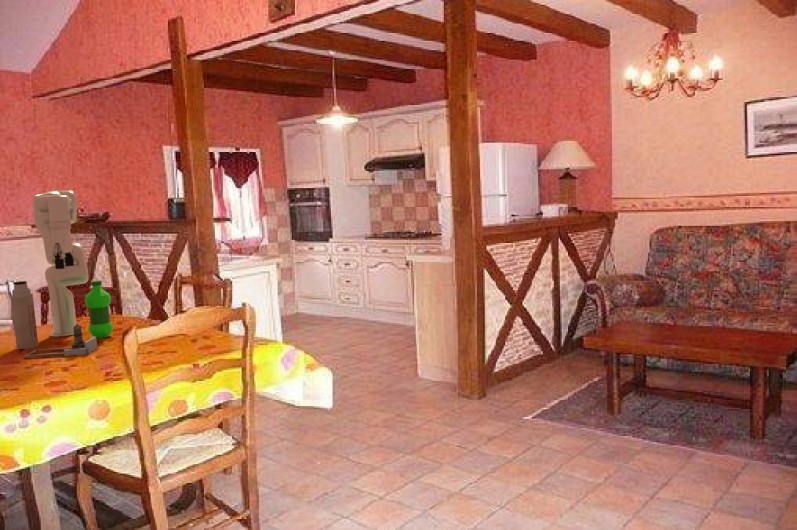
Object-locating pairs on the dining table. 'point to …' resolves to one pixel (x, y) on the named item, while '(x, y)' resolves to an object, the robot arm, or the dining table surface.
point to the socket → (89, 347)
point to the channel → (31, 354)
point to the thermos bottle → (24, 316)
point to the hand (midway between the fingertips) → (65, 267)
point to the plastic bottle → (99, 310)
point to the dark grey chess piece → (78, 337)
